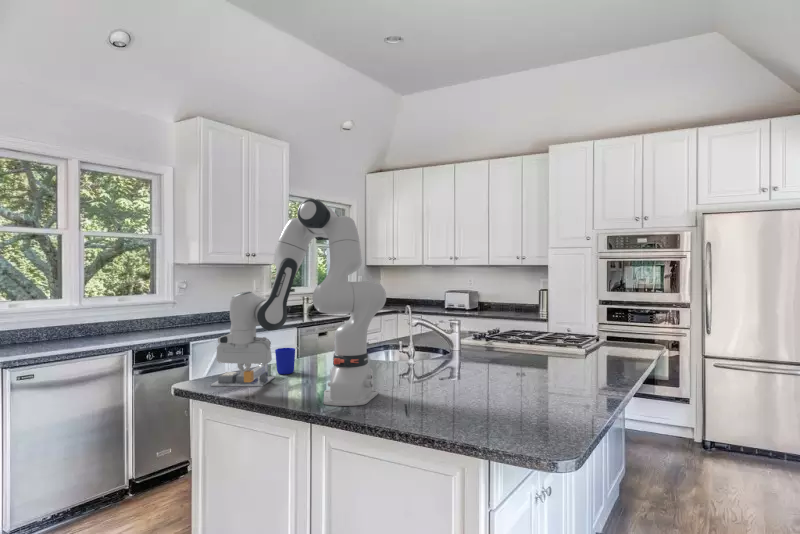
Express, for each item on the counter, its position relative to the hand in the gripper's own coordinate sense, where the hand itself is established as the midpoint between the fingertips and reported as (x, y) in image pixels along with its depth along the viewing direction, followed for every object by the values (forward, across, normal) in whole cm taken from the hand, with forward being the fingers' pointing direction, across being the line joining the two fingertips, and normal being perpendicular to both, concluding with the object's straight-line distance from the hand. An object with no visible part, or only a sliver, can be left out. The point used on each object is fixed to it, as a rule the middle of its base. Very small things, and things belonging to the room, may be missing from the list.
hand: (244, 375), depth 185 cm
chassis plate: (+5, +8, -13) cm, 16 cm away
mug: (+6, -1, -33) cm, 33 cm away
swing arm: (+2, -1, -6) cm, 7 cm away
